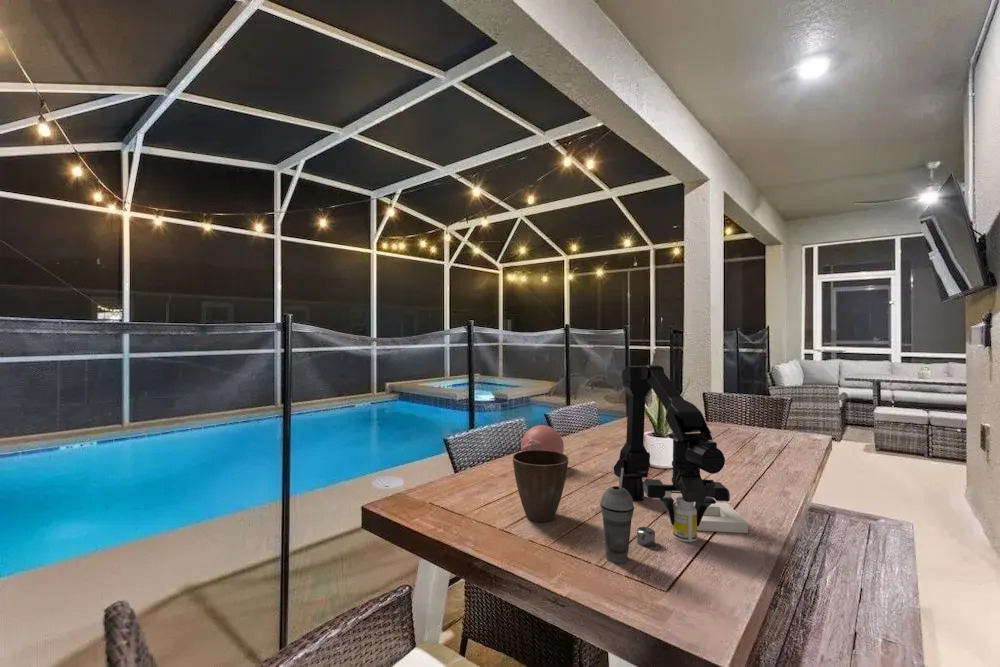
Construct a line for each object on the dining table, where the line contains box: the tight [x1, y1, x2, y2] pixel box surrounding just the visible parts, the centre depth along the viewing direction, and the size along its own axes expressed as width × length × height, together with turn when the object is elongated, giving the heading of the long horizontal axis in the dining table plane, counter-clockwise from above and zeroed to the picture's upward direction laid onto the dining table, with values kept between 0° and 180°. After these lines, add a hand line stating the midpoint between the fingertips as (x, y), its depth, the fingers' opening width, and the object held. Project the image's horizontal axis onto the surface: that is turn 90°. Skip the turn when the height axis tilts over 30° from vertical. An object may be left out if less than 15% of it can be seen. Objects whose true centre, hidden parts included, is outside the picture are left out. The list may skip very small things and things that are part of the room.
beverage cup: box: [600, 468, 635, 564], centre depth 98 cm, size 7×7×20 cm
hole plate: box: [693, 502, 749, 534], centre depth 118 cm, size 13×13×2 cm
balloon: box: [520, 424, 565, 454], centre depth 161 cm, size 15×20×15 cm
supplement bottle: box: [672, 493, 698, 543], centre depth 108 cm, size 5×5×10 cm
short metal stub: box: [636, 526, 656, 548], centre depth 105 cm, size 4×4×3 cm
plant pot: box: [512, 450, 569, 523], centre depth 120 cm, size 15×15×16 cm
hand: (684, 525), depth 108 cm, fingers closed on supplement bottle, 5 cm apart
